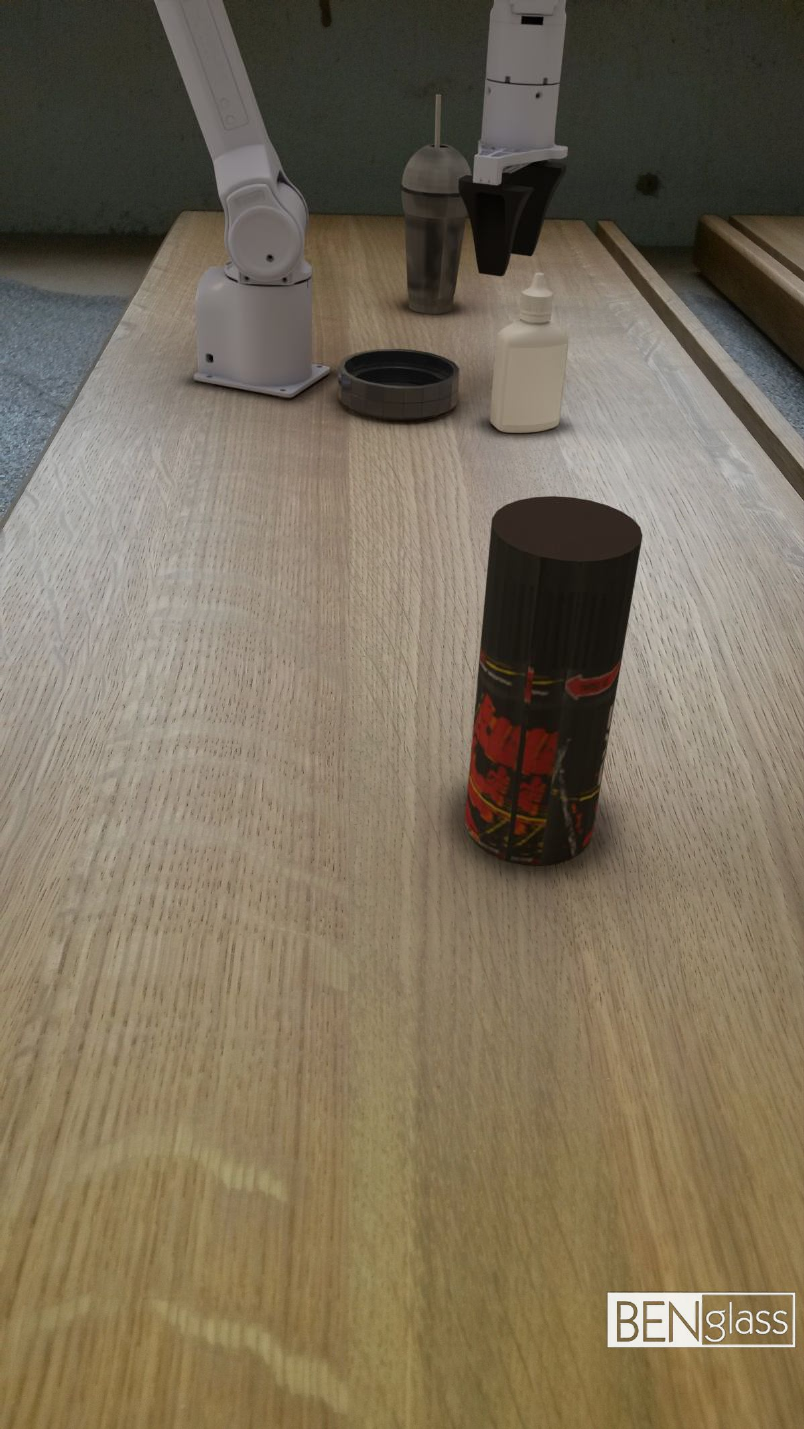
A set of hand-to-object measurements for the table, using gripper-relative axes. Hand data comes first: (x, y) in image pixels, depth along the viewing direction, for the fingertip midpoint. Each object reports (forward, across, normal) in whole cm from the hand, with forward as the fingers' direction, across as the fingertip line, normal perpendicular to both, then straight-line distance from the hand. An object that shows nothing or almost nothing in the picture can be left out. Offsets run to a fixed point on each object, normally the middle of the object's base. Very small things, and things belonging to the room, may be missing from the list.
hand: (506, 263), depth 101 cm
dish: (+10, -8, +6) cm, 14 cm away
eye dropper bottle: (+11, -8, -5) cm, 14 cm away
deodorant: (+11, -57, -21) cm, 62 cm away
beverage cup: (+11, +20, +14) cm, 27 cm away
